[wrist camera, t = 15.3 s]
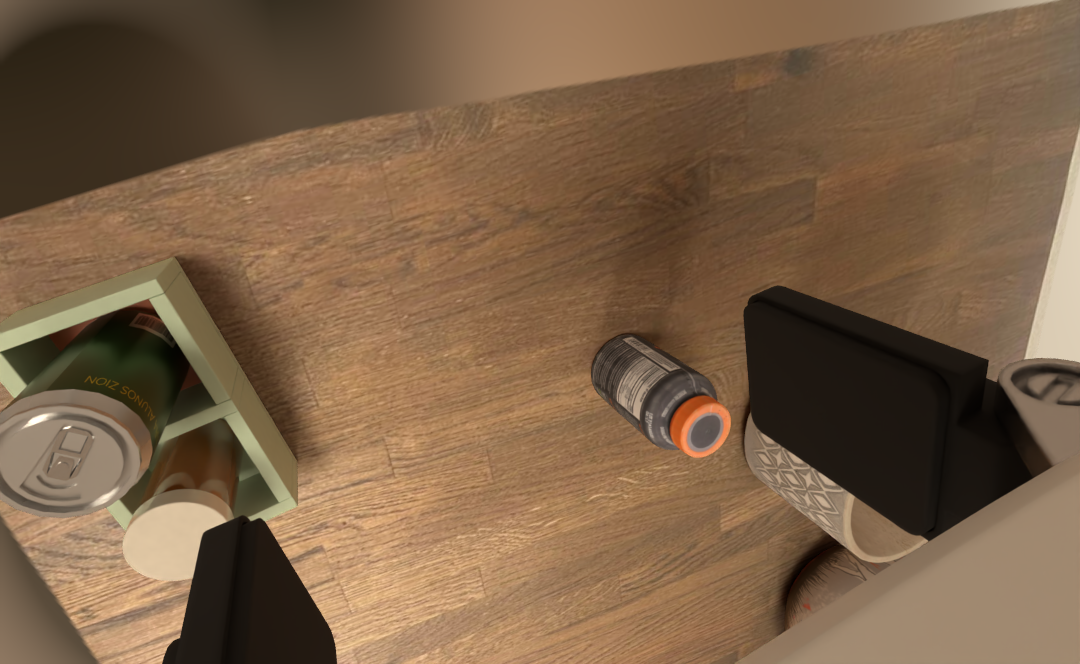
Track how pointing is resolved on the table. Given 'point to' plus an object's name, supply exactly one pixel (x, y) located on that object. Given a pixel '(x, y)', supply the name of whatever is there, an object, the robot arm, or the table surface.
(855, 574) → the vase
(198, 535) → the spice jar
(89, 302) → the divided tray
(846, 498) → the planter
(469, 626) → the table surface
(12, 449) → the guarana soda can
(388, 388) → the table surface
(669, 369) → the pill bottle
